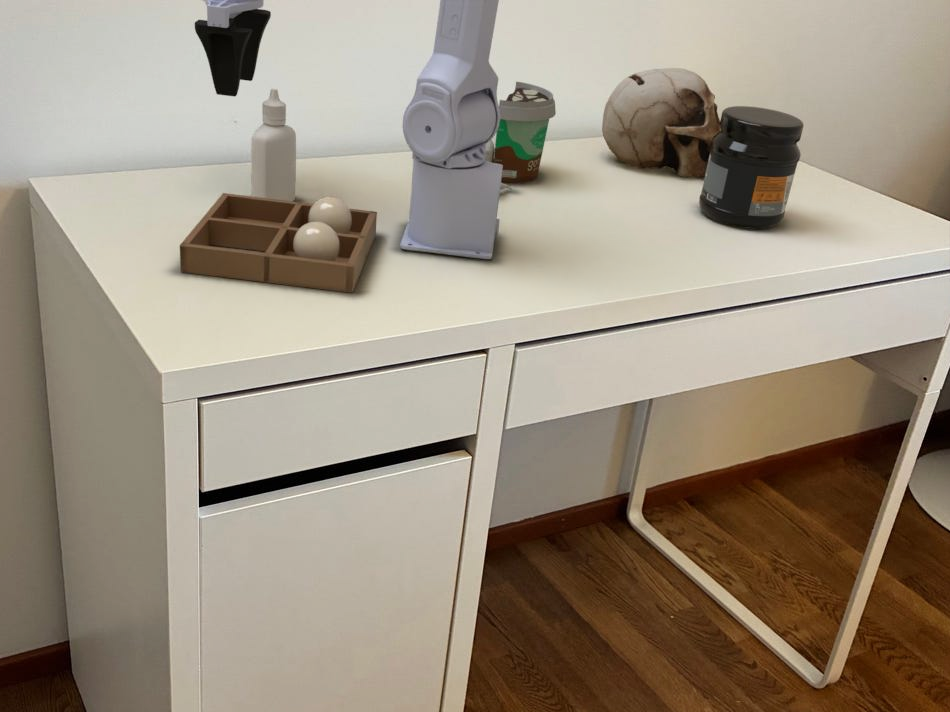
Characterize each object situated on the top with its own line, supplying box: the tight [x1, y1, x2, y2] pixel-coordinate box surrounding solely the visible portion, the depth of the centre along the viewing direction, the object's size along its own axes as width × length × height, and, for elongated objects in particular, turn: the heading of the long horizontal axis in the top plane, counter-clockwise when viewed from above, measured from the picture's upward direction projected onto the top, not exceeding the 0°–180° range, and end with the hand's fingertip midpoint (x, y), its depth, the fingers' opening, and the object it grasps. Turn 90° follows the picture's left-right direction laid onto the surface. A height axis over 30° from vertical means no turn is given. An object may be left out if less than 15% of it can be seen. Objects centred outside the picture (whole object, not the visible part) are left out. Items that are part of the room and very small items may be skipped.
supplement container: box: [698, 105, 805, 230], centre depth 133 cm, size 10×10×12 cm
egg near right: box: [293, 222, 340, 261], centre depth 105 cm, size 4×4×4 cm
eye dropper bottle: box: [250, 88, 297, 202], centre depth 119 cm, size 4×6×12 cm
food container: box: [494, 81, 557, 185], centre depth 138 cm, size 12×6×10 cm, turn 168°
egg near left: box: [308, 196, 352, 234], centre depth 112 cm, size 4×4×4 cm
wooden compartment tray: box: [179, 192, 378, 294], centre depth 109 cm, size 16×16×3 cm
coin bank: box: [601, 67, 721, 178], centre depth 150 cm, size 16×17×13 cm
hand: (235, 86), depth 121 cm, fingers open, 7 cm apart
